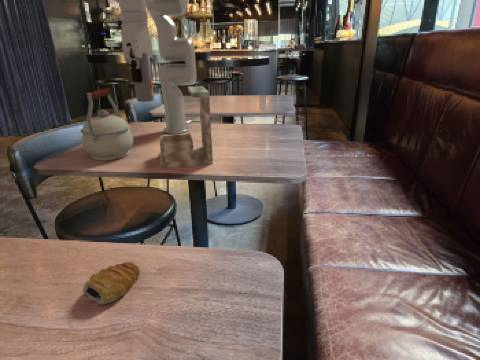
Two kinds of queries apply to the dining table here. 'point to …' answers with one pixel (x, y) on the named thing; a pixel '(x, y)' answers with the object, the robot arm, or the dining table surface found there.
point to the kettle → (105, 131)
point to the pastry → (111, 283)
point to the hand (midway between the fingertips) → (143, 80)
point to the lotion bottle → (144, 80)
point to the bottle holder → (189, 139)
